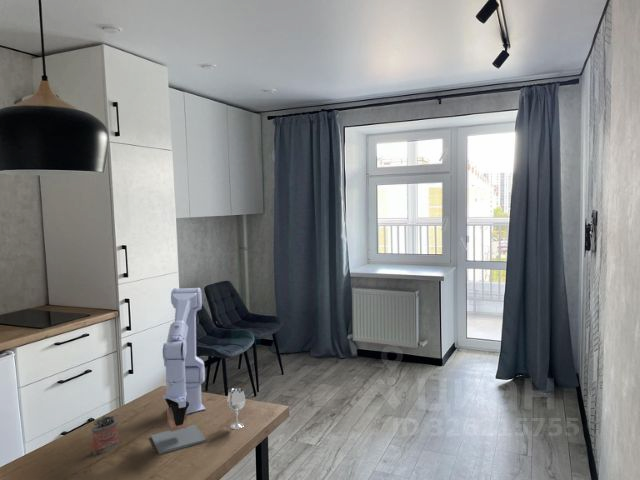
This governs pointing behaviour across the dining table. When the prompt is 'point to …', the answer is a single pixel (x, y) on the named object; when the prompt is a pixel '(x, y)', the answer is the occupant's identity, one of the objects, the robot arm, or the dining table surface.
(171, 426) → the block
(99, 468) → the dining table surface
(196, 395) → the robot arm
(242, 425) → the wineglass
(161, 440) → the mat
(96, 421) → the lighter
